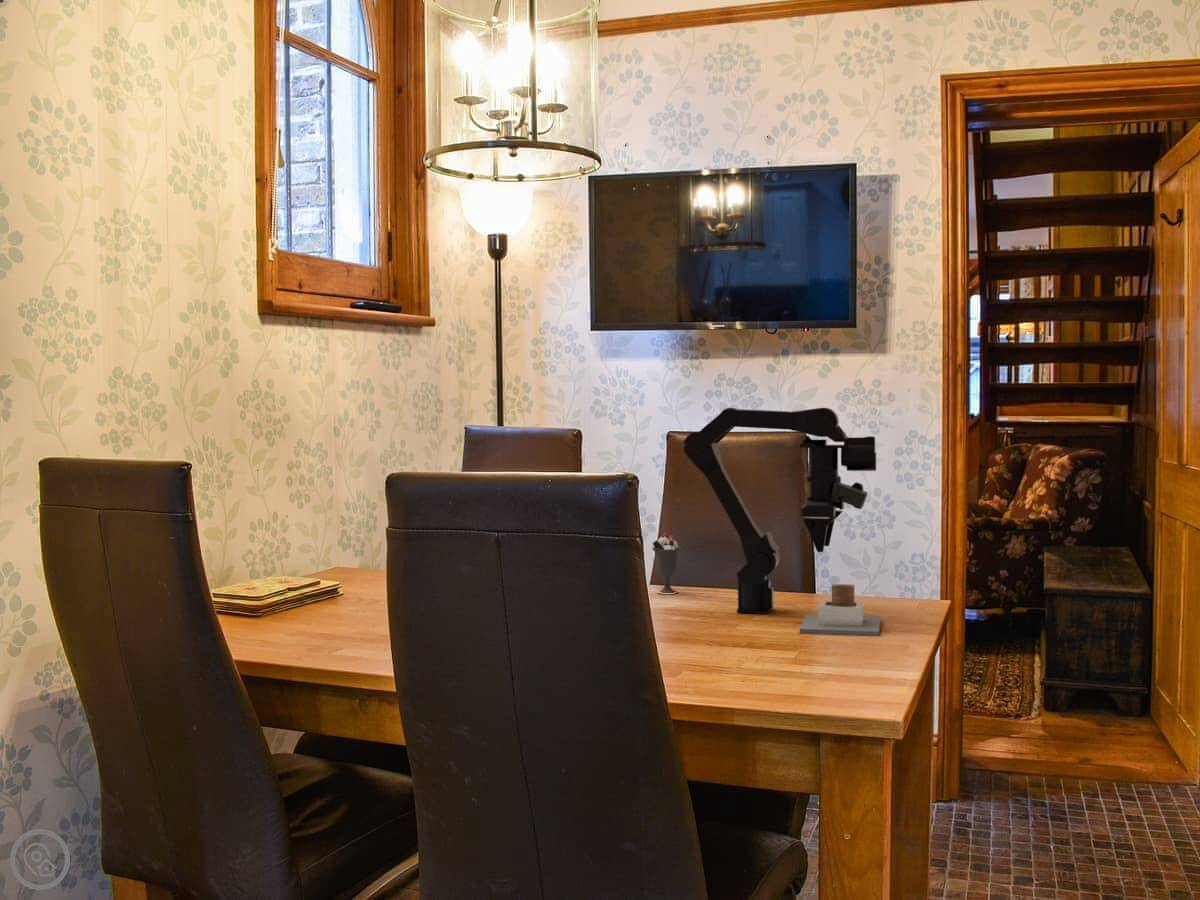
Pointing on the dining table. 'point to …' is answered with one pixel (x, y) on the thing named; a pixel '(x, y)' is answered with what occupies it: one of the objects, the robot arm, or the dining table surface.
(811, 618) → the slate board
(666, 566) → the sundae
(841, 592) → the wooden block
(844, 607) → the white hollow frame
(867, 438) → the robot arm
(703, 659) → the dining table surface
